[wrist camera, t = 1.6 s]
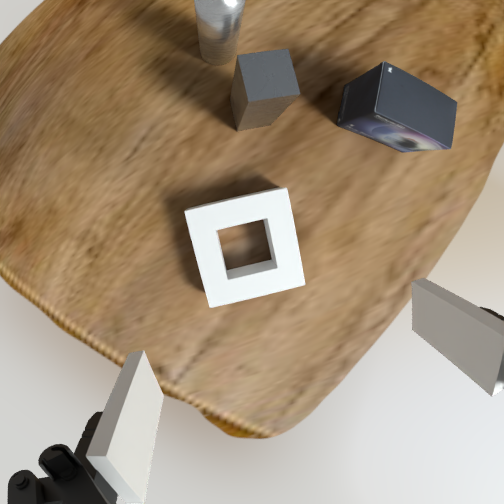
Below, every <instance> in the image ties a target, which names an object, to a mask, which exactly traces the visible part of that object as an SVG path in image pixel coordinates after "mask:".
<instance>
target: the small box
mask: <svg viewBox="0 0 504 504" xmlns="http://www.w3.org/2000/svg"><path fill="white" fill-rule="evenodd" d="M344 86H345V87H344V93H343V98H342V103H341V106H340V111H339V113H338V121H337V126H339V127H341V128H344V129H347V130H349V131H352V132H355V133H357V134H360V135H362V136H365V137H367V138H370V139H372V140H375V141H377V142H380V143H382V144H384V145H387V146H389V147H391V148H394V149H396V150H398V151H401V152H414V151H426V150H442V149H451V146H452V141H453V133H454V127H455V118H456V109H457V102H456V101H455V100H453V99H451V98H450V97H448V96H447V95H445V94H444V93H442V92H440V91H439V90H437V89H435V88H434V87H432V86H430V85H429V84H427V83H425V82H423V81H422V80H420V79H418V78H416V77H414V76H413V75H411V74H409V73H407V72H405V71H403V70H401V69H399V68H397V67H395V66H393V65H391V64H389V63H387V62H385V61H384V62H382V63H380V64H379V65H378V66H376V67H374V68H373V69H371V70H369V71H368V72H366V73H365V74H363V75H361V76H360V77H358V78H356V79H355V80H353V81H351V82H350V83H348V84H346V85H344Z"/></svg>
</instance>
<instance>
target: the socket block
mask: <svg viewBox="0 0 504 504" xmlns="http://www.w3.org/2000/svg"><path fill="white" fill-rule="evenodd" d="M184 212H185V216H186V220H187V224H188V228H189V232H190V236H191V240H192V244H193V248H194V252H195V255H196V259H197V263H198V267H199V270H200V274H201V278H202V281H203V285H204V289H205V292H206V296H207V299H208V303H209V306H210V308H212V307H217V306H221V305H225V304H230V303H234V302H238V301H242V300H247V299H251V298H255V297H259V296H263V295H267V294H271V293H275V292H279V291H283V290H287V289H291V288H295V287H299V286H303V285H305V280H304V274H303V269H302V263H301V257H300V252H299V247H298V241H297V236H296V231H295V225H294V220H293V215H292V210H291V205H290V200H289V195H288V190H287V188H283V187H279V188H274V189H269V190H264V191H260V192H255V193H251V194H246V195H242V196H237V197H233V198H229V199H224V200H220V201H216V202H212V203H207V204H203V205H199V206H195V207H191V208H188V209H187V210H185V211H184ZM262 219H263V220H264V225H265V230H266V234H267V239H268V244H269V249H270V253H271V258H272V259H271V260H267V261H263V262H259V263H255V264H251V265H246V266H242V267H238V268H234V269H230V270H226V266H225V262H224V257H223V253H222V249H221V245H220V241H219V237H218V233H217V230H219V229H223V228H227V227H231V226H236V225H240V224H244V223H249V222H253V221H257V220H262Z"/></svg>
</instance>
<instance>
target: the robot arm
mask: <svg viewBox="0 0 504 504" xmlns="http://www.w3.org/2000/svg"><path fill="white" fill-rule="evenodd" d="M412 330H413V331H414V332H416V333H417V334H418V335H419V336H421V337H422V338H423V339H424V340H426V341H427V342H428V343H429V344H430V345H432V346H433V347H434V348H435V349H436V350H438V351H439V352H440V353H441V354H443V355H444V356H445V357H446V358H447V359H448V360H450V361H451V362H452V363H453V364H454V365H456V366H457V367H458V368H459V369H460V370H461V371H463V372H464V373H465V374H466V375H467V376H469V377H470V378H471V379H472V380H473V381H474V382H476V383H477V384H478V385H479V386H480V387H481V388H483V389H484V390H485V391H486V392H487V393H488V394H489V395H491V396H494V395H495V394H497V393H498V392H500V391H501V390H502V389H504V317H503V316H502V315H498V313H496V312H494V311H492V310H491V309H487V308H483V307H477V306H476V305H474V304H472V303H470V302H468V301H466V300H464V299H463V298H461V297H459V296H457V295H455V294H454V293H452V292H450V291H448V290H446V289H444V288H442V287H440V286H438V285H437V284H435V283H433V282H431V281H428V280H427V279H425V278H421V279H418V280H415V281H413V282H412ZM163 398H164V396H163V393H162V391H161V389H160V387H159V385H158V382H157V380H156V378H155V376H154V373H153V371H152V369H151V366H150V364H149V362H148V359H147V357H146V354H145V352H144V351H138V352H132V353H129V355H128V357H127V359H126V361H125V363H124V365H123V368H122V370H121V372H120V374H119V377H118V379H117V381H116V383H115V386H114V388H113V390H112V393H111V395H110V397H109V399H108V402H107V404H106V407H105V409H104V411H103V412H96V413H95V414H94V415H93V416H92V417H91V418H90V419H89V420H88V423H87V425H86V427H85V431H84V432H83V434H82V438H81V439H80V441H79V443H78V445H77V448H76V450H75V452H74V454H73V452H72V451H71V450H70V449H69V447H68V446H66V445H63V444H56V445H53V446H50V447H48V448H47V449H45V450H44V451H43V452H42V454H41V455H40V458H39V460H38V461H39V466H40V467H41V468H42V469H43V470H44V472H45V473H46V474H47V475H48V476H49V477H45V478H39V479H38V478H37V477H36V476H35V475H34V474H33V473H32V472H31V471H29V470H21V471H19V472H16V473H15V474H14V475H13V476H12V477H11V478H10V480H9V483H8V504H116V501H117V496H119V497H120V498H121V499H122V500H123V501H124V502H125V503H129V504H131V503H132V504H145V498H146V491H147V485H148V479H149V473H150V467H151V461H152V456H153V450H154V444H155V439H156V434H157V428H158V423H159V418H160V413H161V408H162V403H163Z"/></svg>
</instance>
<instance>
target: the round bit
mask: <svg viewBox="0 0 504 504" xmlns="http://www.w3.org/2000/svg"><path fill="white" fill-rule="evenodd" d="M194 2H195V11H196V20H197V29H198V37H199V46H200V54H201V56H202V58H203V59H204V61H206V62H207V63H209V64H212V65H224V64H227V63H229V62H230V61H231V60H232V59H233V58H234V57H235V55H236V51H237V45H238V39H239V33H240V27H241V22H242V16H243V11H244V5H245V0H194Z"/></svg>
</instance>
